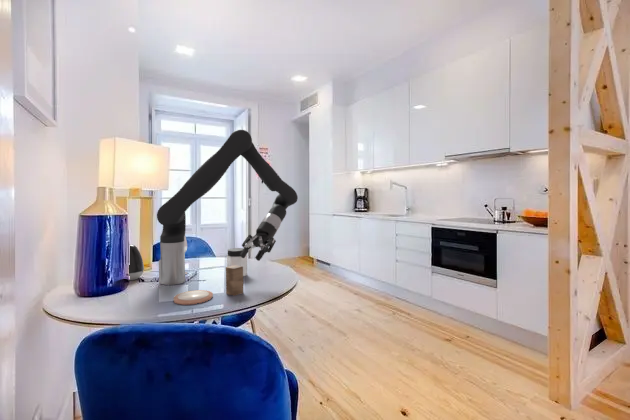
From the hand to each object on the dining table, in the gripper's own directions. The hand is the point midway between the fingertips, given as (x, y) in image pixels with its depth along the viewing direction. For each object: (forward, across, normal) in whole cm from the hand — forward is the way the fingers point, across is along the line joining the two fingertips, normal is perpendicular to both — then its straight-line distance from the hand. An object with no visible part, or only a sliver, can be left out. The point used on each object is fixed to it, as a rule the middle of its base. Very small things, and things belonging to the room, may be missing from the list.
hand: (249, 258), depth 125 cm
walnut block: (+14, 0, +3) cm, 14 cm away
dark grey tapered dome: (+22, -54, -5) cm, 59 cm away
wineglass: (+10, -44, +7) cm, 46 cm away
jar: (+1, -20, +16) cm, 25 cm away
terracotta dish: (+22, -8, -6) cm, 24 cm away
